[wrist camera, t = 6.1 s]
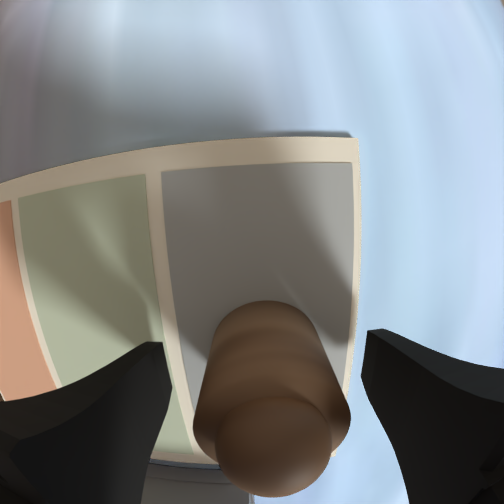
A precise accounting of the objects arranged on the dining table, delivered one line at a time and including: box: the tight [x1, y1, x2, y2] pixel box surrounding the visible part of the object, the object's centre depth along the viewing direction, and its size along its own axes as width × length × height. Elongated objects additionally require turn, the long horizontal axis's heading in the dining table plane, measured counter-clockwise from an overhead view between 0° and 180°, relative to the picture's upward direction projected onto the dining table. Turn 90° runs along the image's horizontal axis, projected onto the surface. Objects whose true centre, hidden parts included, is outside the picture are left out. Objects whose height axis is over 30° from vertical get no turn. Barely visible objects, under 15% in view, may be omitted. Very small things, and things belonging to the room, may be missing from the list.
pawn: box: [193, 300, 351, 497], centre depth 8 cm, size 4×4×6 cm
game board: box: [0, 137, 361, 464], centre depth 11 cm, size 15×21×1 cm
